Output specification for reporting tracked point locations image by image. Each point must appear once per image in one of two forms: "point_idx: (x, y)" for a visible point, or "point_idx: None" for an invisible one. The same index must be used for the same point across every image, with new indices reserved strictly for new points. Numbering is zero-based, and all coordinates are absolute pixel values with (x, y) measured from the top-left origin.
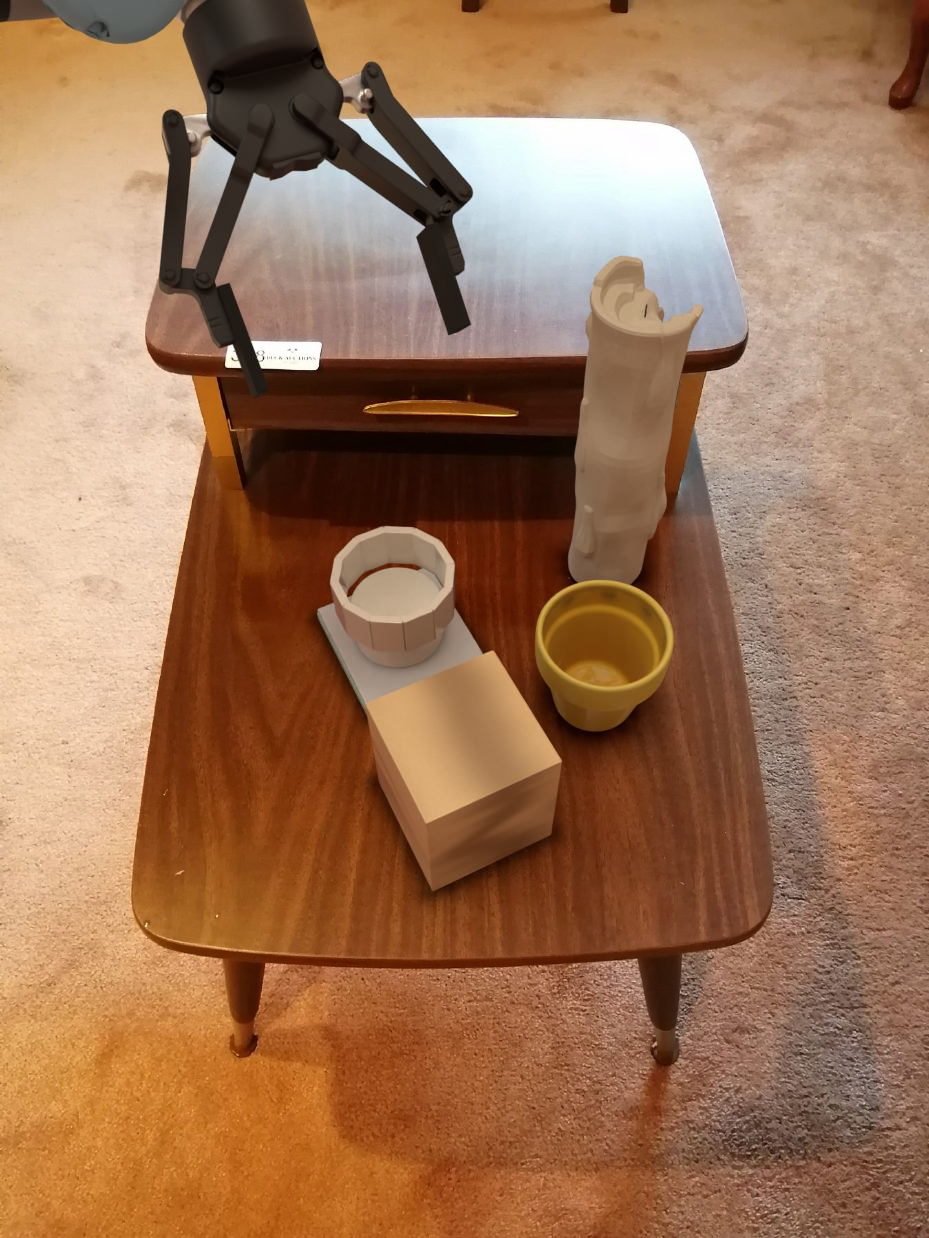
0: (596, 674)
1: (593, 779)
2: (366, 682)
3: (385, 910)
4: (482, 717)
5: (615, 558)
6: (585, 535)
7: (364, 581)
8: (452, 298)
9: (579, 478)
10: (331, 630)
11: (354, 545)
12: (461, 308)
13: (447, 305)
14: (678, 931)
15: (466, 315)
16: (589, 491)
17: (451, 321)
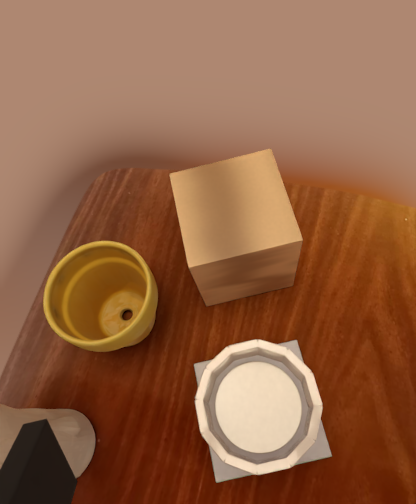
0: (117, 329)
1: (151, 259)
2: None
3: (299, 205)
4: (213, 213)
5: (52, 411)
6: (64, 422)
7: (284, 441)
8: (19, 471)
9: None
10: (319, 424)
11: (292, 453)
12: (17, 453)
13: (40, 491)
14: (142, 171)
15: (18, 439)
16: None
17: (55, 466)
